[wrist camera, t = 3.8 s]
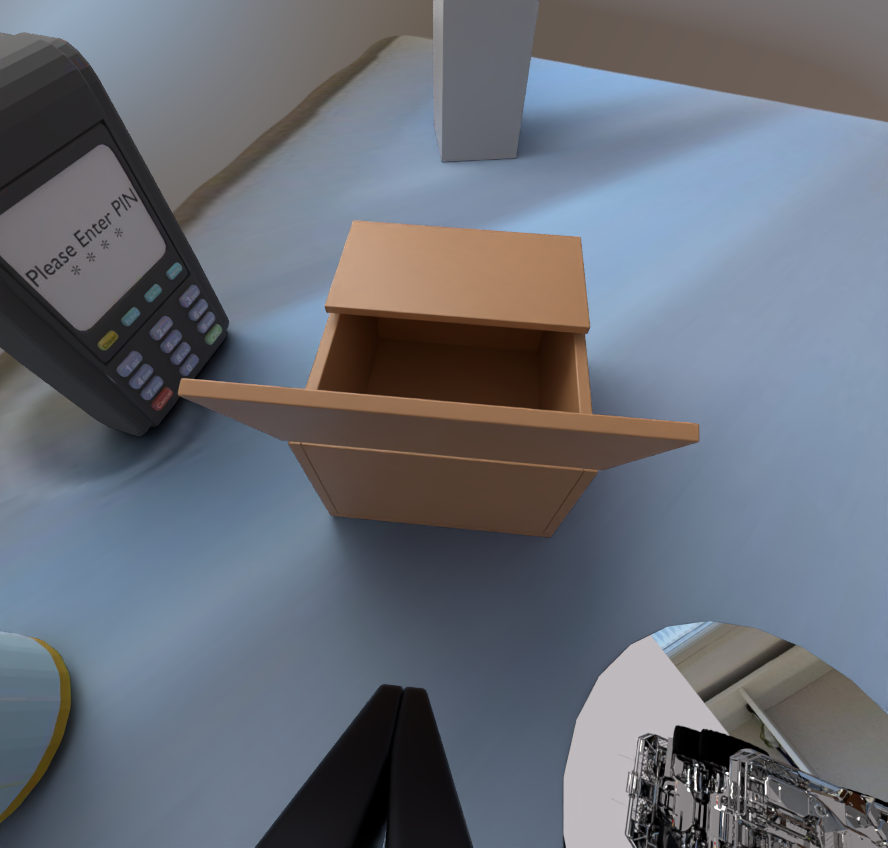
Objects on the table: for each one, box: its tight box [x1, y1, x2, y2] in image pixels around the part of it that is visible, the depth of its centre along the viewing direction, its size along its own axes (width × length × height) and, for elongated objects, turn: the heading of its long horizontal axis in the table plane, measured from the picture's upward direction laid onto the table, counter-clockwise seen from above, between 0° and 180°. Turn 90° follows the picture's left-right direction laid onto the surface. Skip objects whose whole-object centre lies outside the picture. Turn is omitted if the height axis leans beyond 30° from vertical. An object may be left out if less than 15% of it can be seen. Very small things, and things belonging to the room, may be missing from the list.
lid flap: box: [178, 378, 699, 470], centre depth 12 cm, size 6×11×1 cm
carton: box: [288, 221, 598, 537], centre depth 21 cm, size 12×11×8 cm
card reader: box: [0, 33, 229, 436], centre depth 20 cm, size 9×4×15 cm, turn 163°
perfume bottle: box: [433, 0, 539, 162], centre depth 34 cm, size 7×7×18 cm
